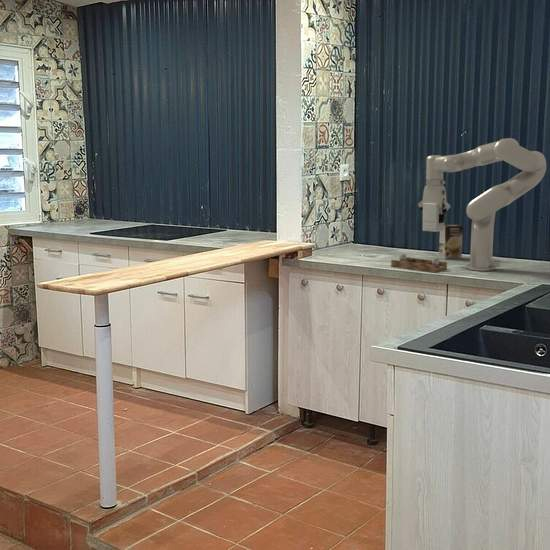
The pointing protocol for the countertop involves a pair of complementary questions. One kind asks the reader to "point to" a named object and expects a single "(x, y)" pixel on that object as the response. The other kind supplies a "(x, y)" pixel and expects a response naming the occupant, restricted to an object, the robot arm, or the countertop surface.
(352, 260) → the countertop surface
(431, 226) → the supplement box
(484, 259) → the robot arm
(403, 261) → the brown textured block
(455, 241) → the coffee box
